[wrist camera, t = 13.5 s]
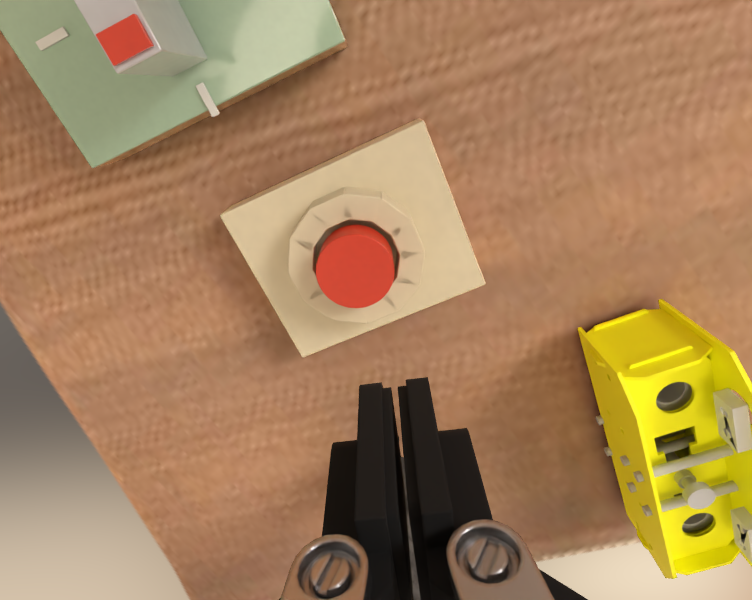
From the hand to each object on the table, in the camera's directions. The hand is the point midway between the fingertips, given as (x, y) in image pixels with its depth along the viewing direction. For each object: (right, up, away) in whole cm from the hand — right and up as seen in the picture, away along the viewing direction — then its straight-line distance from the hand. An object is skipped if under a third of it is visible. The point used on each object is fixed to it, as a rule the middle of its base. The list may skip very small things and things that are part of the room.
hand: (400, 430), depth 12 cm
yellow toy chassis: (+17, -4, +20) cm, 26 cm away
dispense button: (-2, +5, +12) cm, 13 cm away
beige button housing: (-2, +7, +15) cm, 17 cm away
